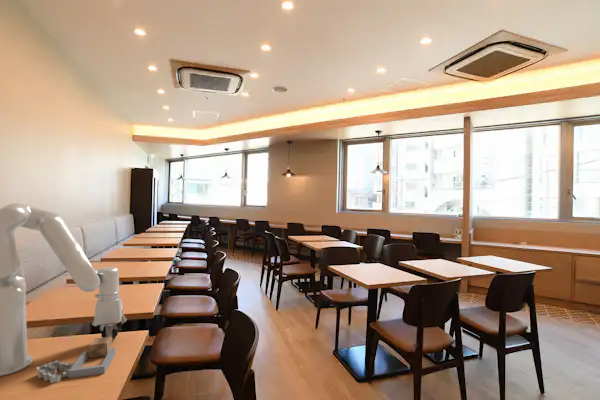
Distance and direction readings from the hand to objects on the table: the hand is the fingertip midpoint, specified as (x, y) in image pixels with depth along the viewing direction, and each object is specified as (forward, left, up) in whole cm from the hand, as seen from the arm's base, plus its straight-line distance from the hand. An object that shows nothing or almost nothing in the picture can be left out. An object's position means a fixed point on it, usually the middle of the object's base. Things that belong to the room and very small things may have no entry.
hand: (109, 337), depth 136 cm
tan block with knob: (0, -6, -1) cm, 6 cm away
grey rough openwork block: (-11, -23, -2) cm, 26 cm away
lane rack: (0, -19, -1) cm, 19 cm away
